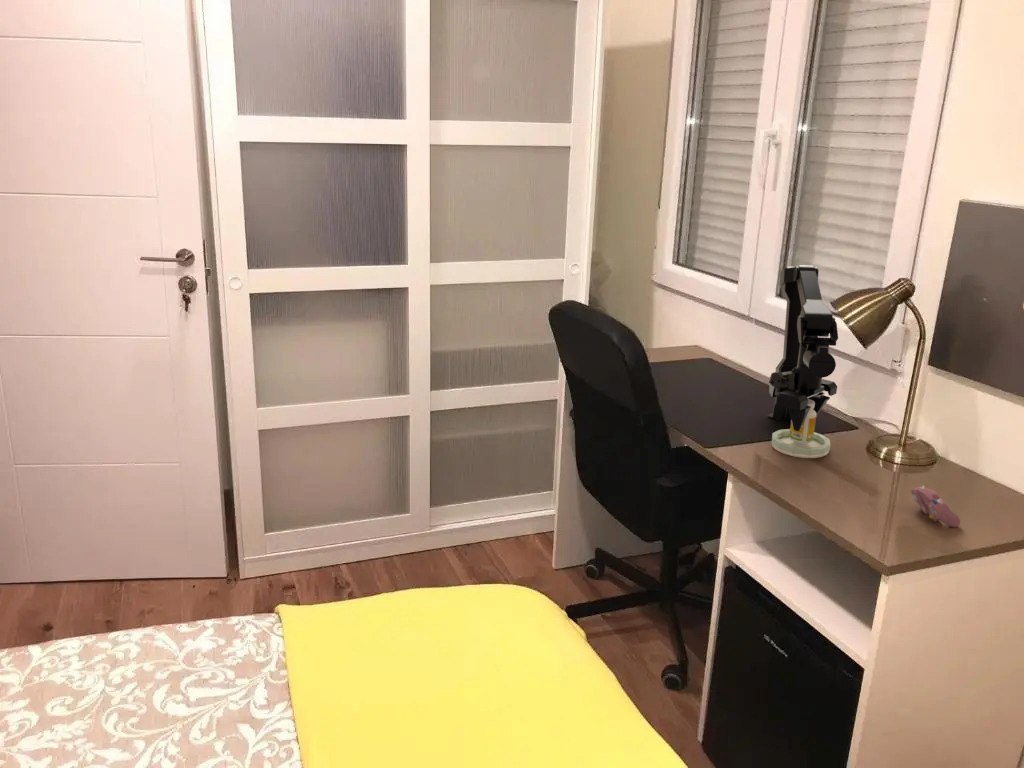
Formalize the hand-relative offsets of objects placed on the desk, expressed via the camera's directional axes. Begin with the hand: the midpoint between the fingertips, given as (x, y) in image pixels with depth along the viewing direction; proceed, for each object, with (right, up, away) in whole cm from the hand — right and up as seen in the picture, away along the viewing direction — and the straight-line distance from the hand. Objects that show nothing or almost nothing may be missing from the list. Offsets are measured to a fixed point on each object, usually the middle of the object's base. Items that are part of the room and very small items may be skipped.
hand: (802, 427), depth 195 cm
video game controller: (+14, -16, -32) cm, 39 cm away
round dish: (0, -5, +1) cm, 5 cm away
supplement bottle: (0, -3, +1) cm, 3 cm away
